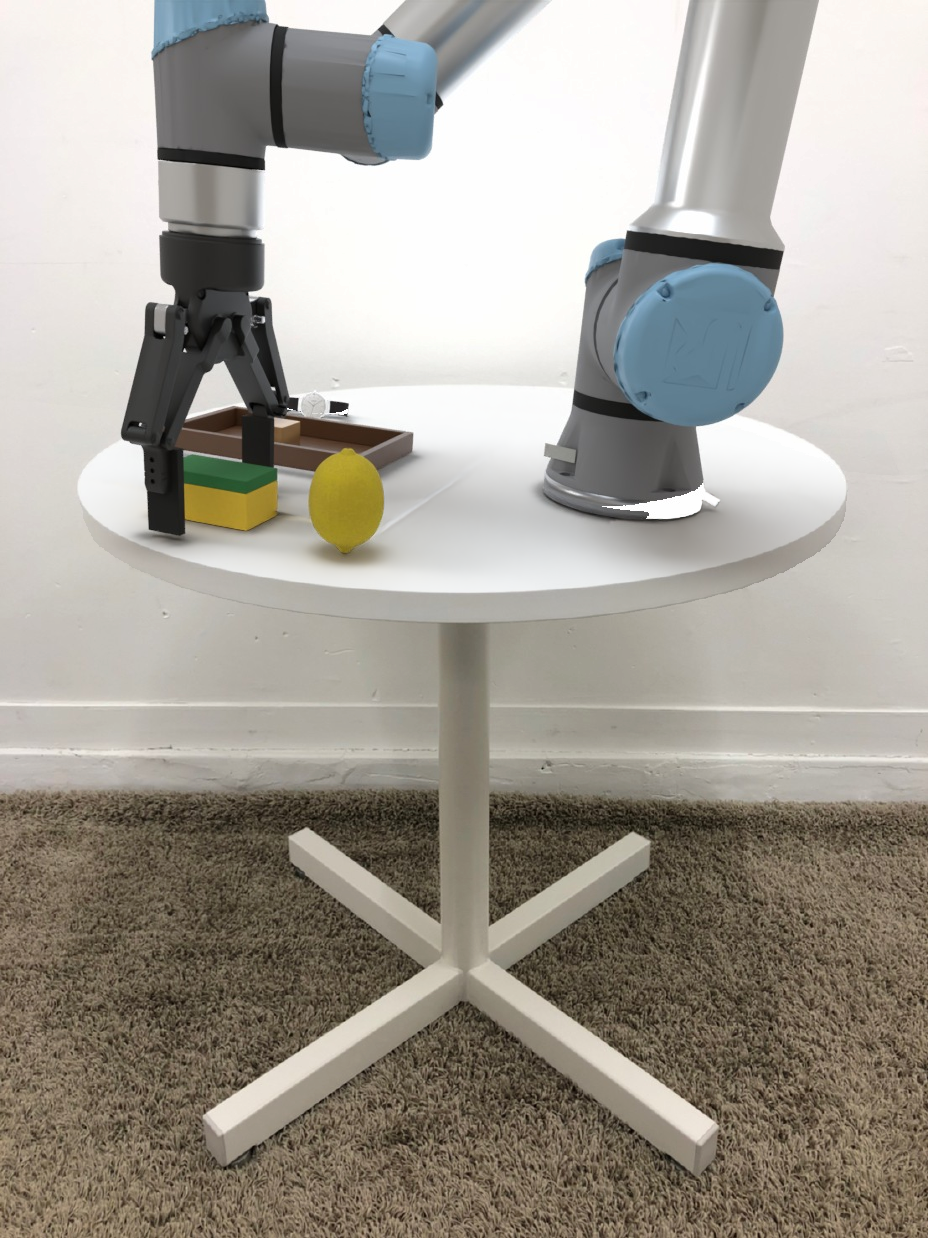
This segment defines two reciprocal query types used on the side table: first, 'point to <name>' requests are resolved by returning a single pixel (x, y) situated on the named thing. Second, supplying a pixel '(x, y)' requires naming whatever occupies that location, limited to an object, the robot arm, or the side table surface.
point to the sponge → (228, 492)
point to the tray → (316, 439)
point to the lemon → (346, 500)
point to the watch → (316, 405)
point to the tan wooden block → (287, 431)
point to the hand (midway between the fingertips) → (215, 510)
